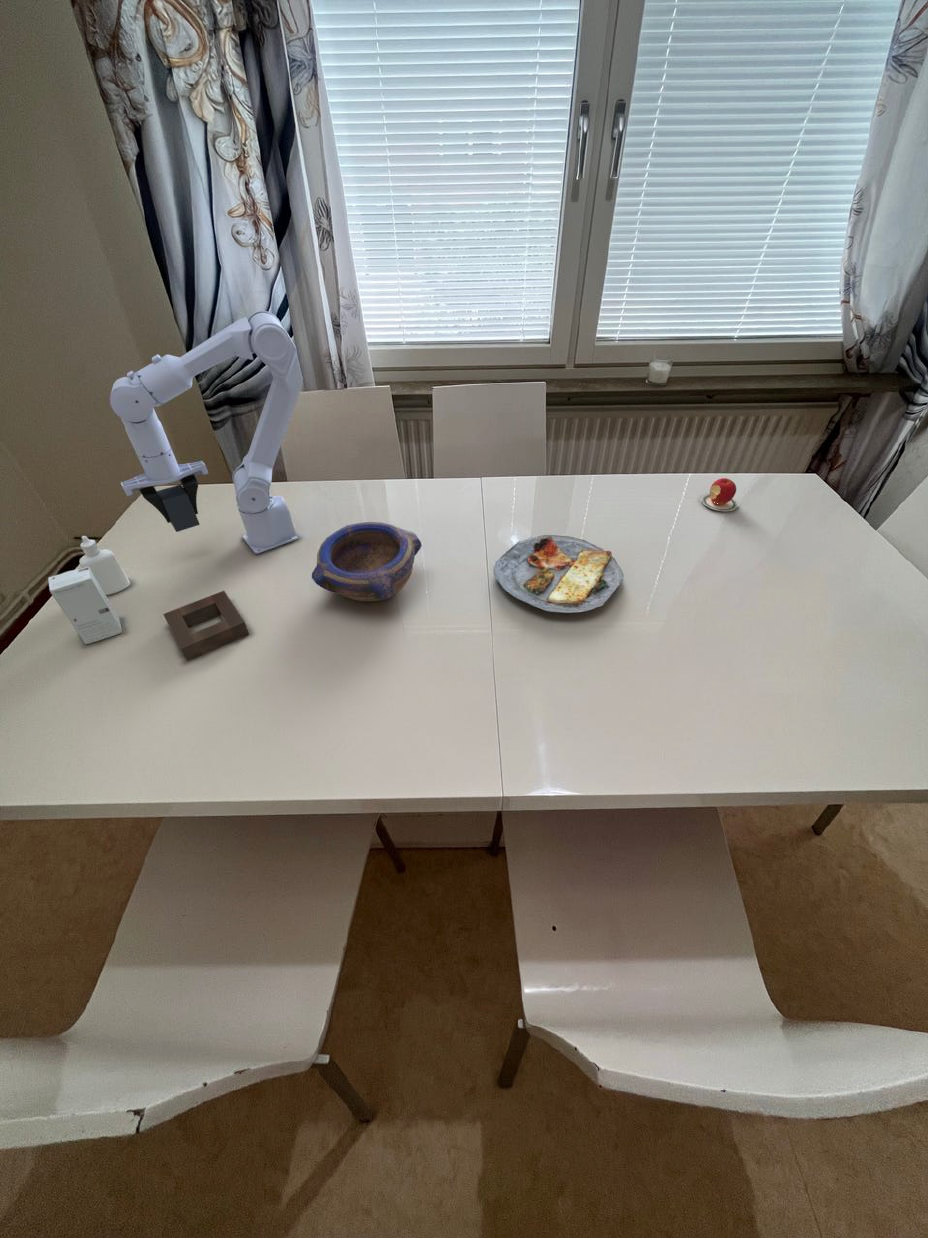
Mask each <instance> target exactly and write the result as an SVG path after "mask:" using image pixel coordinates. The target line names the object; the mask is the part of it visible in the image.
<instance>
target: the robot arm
mask: <svg viewBox="0 0 928 1238" xmlns="http://www.w3.org/2000/svg"><path fill="white" fill-rule="evenodd" d="M253 353H255V355H256V356H257V358H258V359H260V360H261V362H262V363H264V365H266V366H267V368H268V370H269V373H270V374H271V376H272V381H271V384H270V386H269V389H268V392H267V396H266V399H265V402H264V405H263V408H262V410H261V413H260V416H259V420H258V423H257V425H256V428H255V432H254V435H253V437H252V441H251V443H250V446H249V448H248V449H249V450H248V452H247V454H246V455H245V456H244V457H243V459H242V462H241V464H239V466H237V467H236V468H235V470H234V471H233V473H232V476H231V477H232V478H231V479H232V484H233V487H234V492H235V501H236V507H237V510H238V512H239V516H240V519H241V521H242V524H243V528H244V530H245V534H244V535H243V536H242V539H243V540H244V542H245V543H246V544H247V545H248V546H249V548H250V549H251V550H252V552H253V553H254V554H255V555H258V554H261V553H264V552H267V551H269V550H272V549H275V548H277V547H280V546H283V545H287V544H289V543H291V542H294V541H297V540H298V536H297V534H296V531H295V527H294V523H293V520H292V516H291V512H290V509H289V507H288V504H287V503H286V500H284V498H283V496H281V495H275V496H273V495H272V494H270V489H271V485H272V480H273V479H272V478H273V469H274V465H275V462H276V459H277V458H278V455H279V451H280V449H281V446H282V443H283V440H284V438H285V435H286V433H287V429H288V427H289V424H290V421H291V419H292V415H293V413H294V411H295V408H296V404H297V402H298V399H299V396H300V393H301V390H302V388H303V384H304V377H303V373H302V369H301V365H300V361H299V356H298V351H297V347H296V345H295V343H294V342H293V340H292V338H291V337H290V335H289V333H288V332H287V331H286V328H285V327H284V325H283V323H282V322H281V321H280V319H279V318H278V317H277V316H276V315H275V314H273V313H272V312H270V311H267V310H257V311H255V312H253V313H251V314H250V315H249V317H248V318H247V316H245V317H242V318H239V319H237V320H236V321H234V322H233V323H231V324H229V325H228V326H226V327H225V328H223V329H222V330H219V332H217V333H215V334H214V335H212V336H211V337H209V338H207V339H206V340H204V341H203V342H201V343H200V344H199V345H197V346H195V347H194V348H192V349H191V350H189V351H187V352H186V353H184V354H183V355H182V356H176V355H171V354H165V355H164V356H161V355H160V354H155V355H153V356H152V357H151V363H149V364H147V365H146V366H144V367H142V368H141V369H139V370H137V371H136V372H134V370H130V371H129V372H127V373H126V376H123V377H119V378H118V379H116V380H115V381H114V383H113V385H112V387H111V391H110V397H109V402H110V403H109V404H110V408H111V409H112V411H113V413H114V414H115V415H117V416H118V417H119V418H120V419H121V422H122V424H123V426H124V429H125V433H126V434H127V436H128V438H129V441H130V444H131V445H132V448H133V450H134V452H135V454H136V457H137V459H138V460H139V463H140V465H141V468H142V469H143V472H144V473H142V474H140V475H137V476H135V477H132V478H130V479H127V480H125V481H121V482H120V485H121V487H122V489H123V491H124V494H125V496H126V497H129V496H133V495H134V493H138V492H140V494H141V495H142V497H143V498H144V499H145V500H146V501H147V502H148V504H151V505H152V506H153V507H154V508H155V509H156V510H157V511H158V512H159V513H160V514H161V516H163V518H164V519H165V521H166V523H167V524H171V520H170V518H169V515H168V514H167V512H166V510H165V508H164V506H163V504H162V501H161V499H160V497H159V495H158V493H157V491H158V490H157V489H156V488H157V487H160V486H164V485H168V484H172V483H175V482H178V481H180V485H182V487H183V488H184V490H185V491H186V493H187V495H188V497H189V499H190V502H191V504H192V507H193V509H194V512H195V514H196V515H198V514H199V511H198V504H197V497H198V496H197V495H198V489H199V481H198V479H197V478H196V477H197V476H199V475H203V476H204V475H208V474H209V471H208V469H207V466H206V463H204V461H203V460H200V461H195V462H188V463H179V464H178V461H177V458H176V457H175V454H174V451H173V449H172V447H171V444H170V442H169V440H168V437H167V435H166V432H165V430H164V427H163V425H162V422H161V421H160V420H159V417H158V415H157V413H156V411H155V408H156V407H161V406H162V405H164V404H166V403H167V402H169V401H171V400H174V399H175V398H177V397H178V396H180V395H181V394H183V393H185V392H186V391H188V390H190V389H192V387H193V379H194V377H196V376H197V375H199V374H201V373H203V372H206V371H208V370H210V369H212V368H213V367H215V366H217V365H219V364H221V363H223V362H225V361H227V360H229V359H230V358H232V357H237V358H242V359H247V360H251V361H253V360H254V357H253Z"/></svg>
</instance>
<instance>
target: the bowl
mask: <svg viewBox="0 0 928 1238" xmlns="http://www.w3.org/2000/svg"><path fill="white" fill-rule="evenodd" d="M421 549H422V542H421V540H420V538H419V537H418V535H417V534H416V533H415V532H413V531H410V530H406V529H403V528H401V527H398V526H396V525H394V524H391V523H386V522H381V521H365V522H358V523H352V524H346V525H344V526H343V527H341V528H339V529H337V530H336V531H334V532H332V534H330V535H329V536H327V537H326V538H325V539H324V540H323V542H322V543H321V544H320V546H319V549H318V551H317V554H316V566H315V567H314V569H313V571H312V572H311V579H312V580H313V582H314V583H315V584H316V585H317V586H319V587H320V588H322V589H323V590H325V591H328V592H331V593H333V594H337V595H340V596H342V597H345V598H346V599H349V600H353V601H354V600H355V601H360V602H375V601H376V602H378V601H384V600H388V599H390V598H392V597H393V596H394V595H395V594H396V593H398V592H399V591H401V589H403V587H405V585H406V584H407V583H408V581H409V580H410V578H411V576H412V574H413V570H414V562H415V557H416V555H417V554H418V552H419V551H420V550H421Z"/></svg>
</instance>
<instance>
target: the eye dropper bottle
mask: <svg viewBox="0 0 928 1238" xmlns="http://www.w3.org/2000/svg"><path fill="white" fill-rule="evenodd" d="M81 540H82V542H81V543H80V545H79V546H80V549H81V550H82V551H83V553H84V555H83V556H82V557H80V558H79V565H80V567H81V568H85V567H90V569H91V571H92V573H93V574H94V576H95V578H96V580H97V581H98V583H99V585H100V586H101V588H102V590H103V592H104V593H105V595H106V596H109V595H114V594H116V593H119V592H121V591H123V590H125V589H127V588H129V587H130V585H131V581H130V580H129V578H128V576H127V574H126V573H125V571H124V569H123V567H122V566H121V564H120V562H119V560H118V558H117V557H116V555H115V554H114V552H113V551H112V550H111V549H105V548H103V549H101V548H100V546H99V544H98V543H97V541H96V540H94V539H89V537H88V536H86V535H82V536H81Z"/></svg>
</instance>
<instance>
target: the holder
mask: <svg viewBox="0 0 928 1238" xmlns="http://www.w3.org/2000/svg"><path fill="white" fill-rule="evenodd" d="M162 614H163V617H164V619H165V621H166V623H167V626H168V627H169V629H170V631H171V632H172V635H173V638H174V639H175V642H176V643H177V646H178V647H179V650H180V651H181V653H182V655H183V657H184V659H185V661H186V662H189V661H190V660H193V659H195V658H198V657H200V656H202V655H204V654H207V653H210V652H211V651H214V650H216V649H219V648H221V647H224V646H225V645H227V644H230V643H232V642H234V641H237V640H239V639H242V638H245V637H246V636H248V635H250V632H249V629H248V627H247V624H246V622H245V620H244V619H243V617H242V615H241V614H240V612H239V611H238V609H237V608H236V606H235V604H233V602H232V600H231V598H230V597H229V596H228V594H227V593H226V591H225V590H222V591H219V592H217V593H214V594H211V595H209V596H206V597H204V598H201V599H198V600H195V601H193V602H191V603H188V604H185V605H183V606H180V607H177V608H175V609H173V610H170V611H168V612H167V611H166V612H165V613H162ZM219 616H220V618H221V619H222V621H218V622H217V623H215V624H212V625H210V626H207V627H205V628H203V629H200V630H198V631H195V632H193V633H192V631H190V628H192V627H194V626H196V625H199V624H202V623H204V622H207V621H209V620H210V619H215V618H216V617H219Z"/></svg>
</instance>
